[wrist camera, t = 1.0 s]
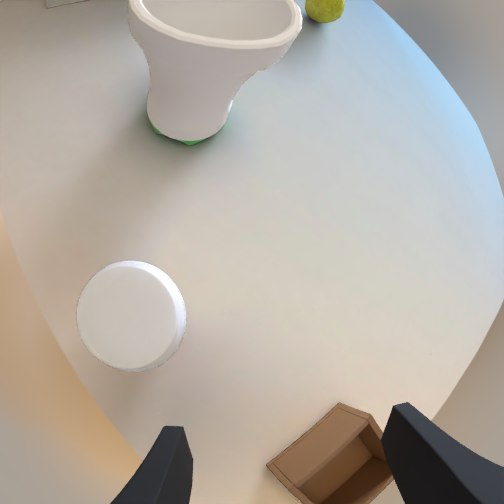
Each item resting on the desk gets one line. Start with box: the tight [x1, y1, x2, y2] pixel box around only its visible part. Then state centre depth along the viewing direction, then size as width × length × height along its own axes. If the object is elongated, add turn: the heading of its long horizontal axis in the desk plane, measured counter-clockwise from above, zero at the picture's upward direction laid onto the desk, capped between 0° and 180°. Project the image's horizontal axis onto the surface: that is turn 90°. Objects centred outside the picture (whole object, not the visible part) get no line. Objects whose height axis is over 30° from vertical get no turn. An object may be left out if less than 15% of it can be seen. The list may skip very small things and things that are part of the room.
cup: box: [128, 0, 303, 145], centre depth 21 cm, size 11×11×14 cm
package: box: [266, 403, 394, 504], centre depth 22 cm, size 9×9×5 cm
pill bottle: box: [76, 261, 186, 372], centre depth 17 cm, size 6×6×11 cm
